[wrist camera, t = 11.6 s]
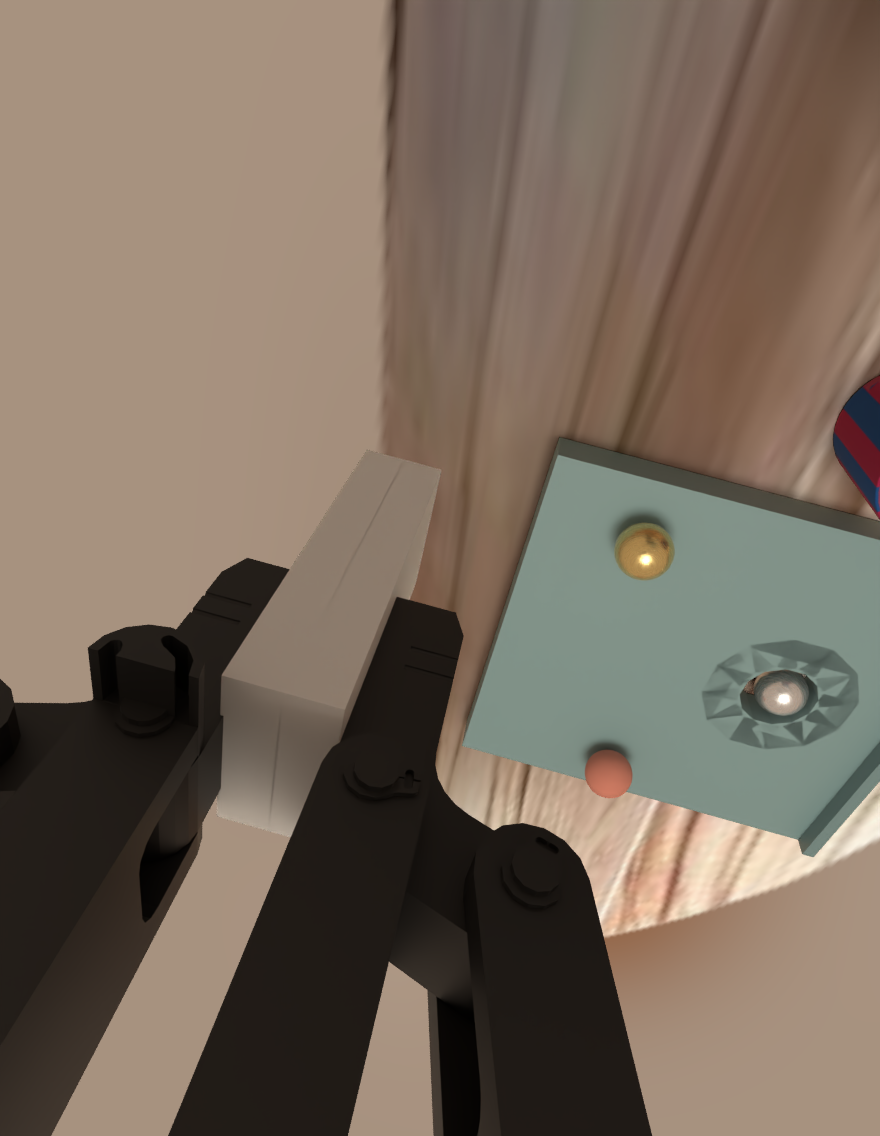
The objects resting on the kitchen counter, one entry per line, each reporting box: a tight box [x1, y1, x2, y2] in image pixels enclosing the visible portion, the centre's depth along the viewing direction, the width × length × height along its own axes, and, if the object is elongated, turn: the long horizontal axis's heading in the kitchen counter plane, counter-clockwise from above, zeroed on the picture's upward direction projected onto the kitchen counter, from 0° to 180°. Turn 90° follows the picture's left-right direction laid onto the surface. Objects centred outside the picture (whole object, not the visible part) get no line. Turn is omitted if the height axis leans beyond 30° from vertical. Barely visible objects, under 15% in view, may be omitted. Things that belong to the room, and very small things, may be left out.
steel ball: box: [754, 669, 809, 716], centre depth 45 cm, size 3×3×3 cm
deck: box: [462, 437, 880, 857], centre depth 45 cm, size 24×26×4 cm
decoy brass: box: [614, 522, 675, 581], centre depth 39 cm, size 3×3×3 cm
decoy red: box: [585, 750, 633, 798], centre depth 49 cm, size 3×3×3 cm
